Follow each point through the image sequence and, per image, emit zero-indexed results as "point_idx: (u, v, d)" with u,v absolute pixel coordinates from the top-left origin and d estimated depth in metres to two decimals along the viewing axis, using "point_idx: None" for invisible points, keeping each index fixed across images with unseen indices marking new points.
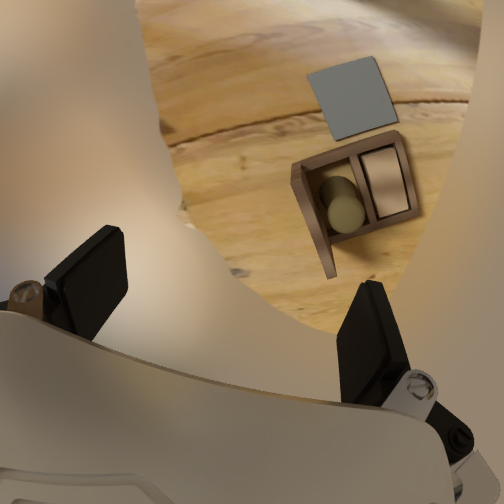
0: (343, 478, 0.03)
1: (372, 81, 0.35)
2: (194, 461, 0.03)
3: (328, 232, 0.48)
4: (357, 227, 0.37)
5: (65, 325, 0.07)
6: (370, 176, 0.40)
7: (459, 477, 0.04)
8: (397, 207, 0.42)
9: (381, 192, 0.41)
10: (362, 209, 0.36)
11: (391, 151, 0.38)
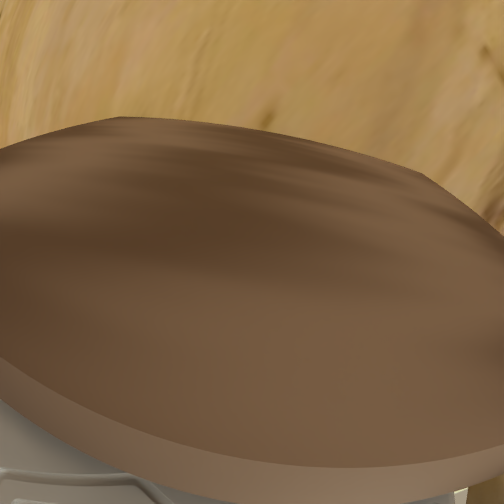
0: None
1: None
2: None
3: None
4: None
5: None
6: None
7: None
8: None
9: None
10: None
11: None
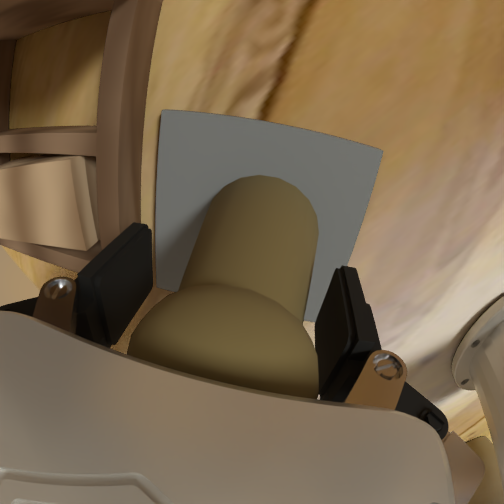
0: (343, 478, 0.03)
1: None
2: (194, 461, 0.03)
3: (9, 42, 0.10)
4: None
5: (97, 321, 0.08)
6: (35, 167, 0.12)
7: None
8: None
9: (12, 186, 0.13)
10: None
11: (81, 240, 0.14)
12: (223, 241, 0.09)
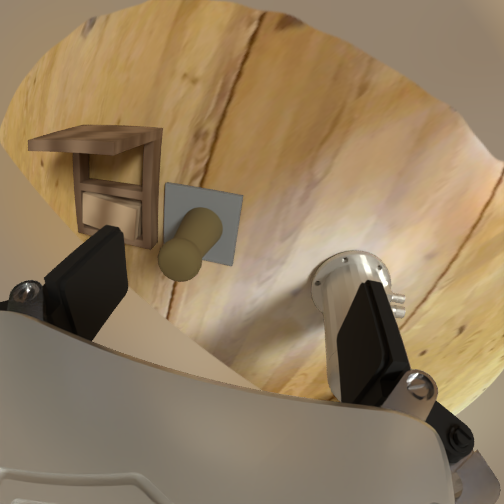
0: (343, 478, 0.03)
1: None
2: (194, 461, 0.03)
3: None
4: (162, 270, 0.32)
5: (65, 325, 0.07)
6: (118, 205, 0.38)
7: (459, 477, 0.04)
8: (86, 213, 0.40)
9: (102, 206, 0.39)
10: None
11: (132, 236, 0.41)
12: (183, 229, 0.35)
